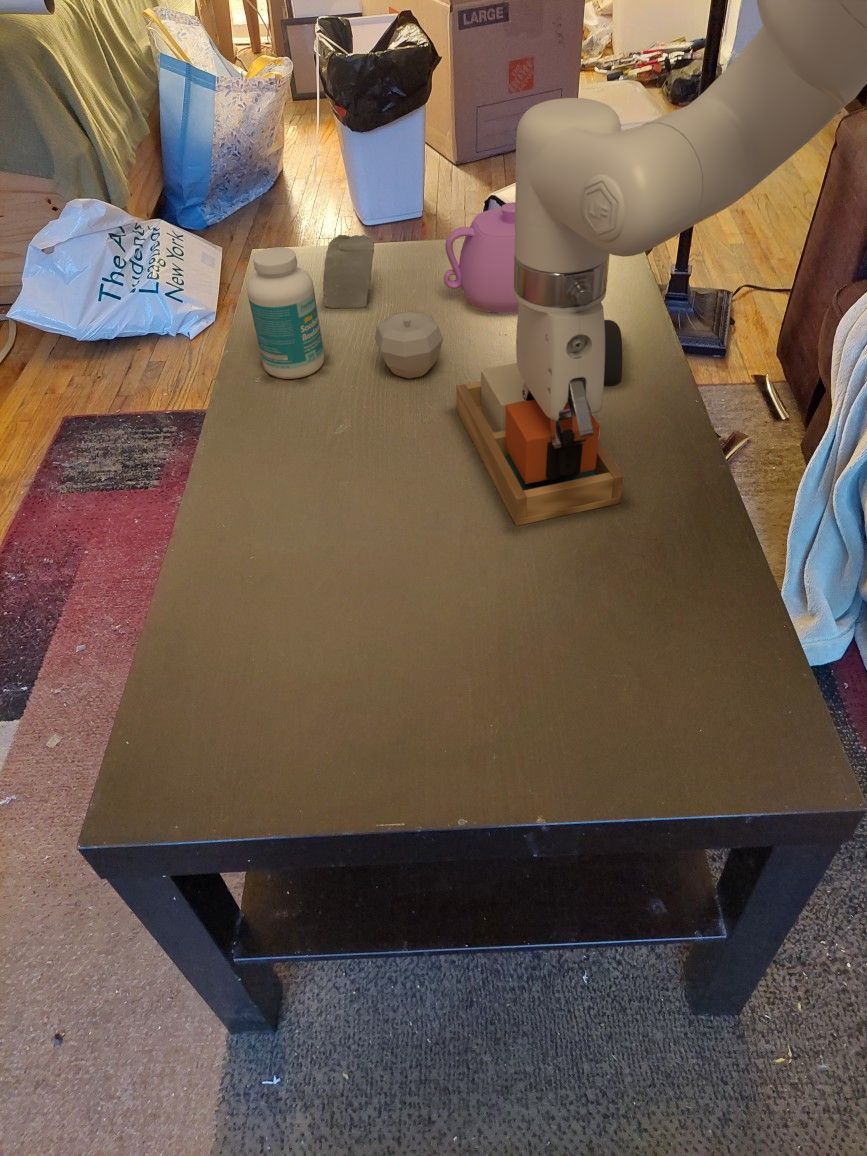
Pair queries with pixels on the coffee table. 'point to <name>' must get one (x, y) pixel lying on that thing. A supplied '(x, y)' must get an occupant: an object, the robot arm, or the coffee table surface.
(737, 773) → the coffee table surface
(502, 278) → the teapot
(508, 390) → the beige block
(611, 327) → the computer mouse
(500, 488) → the holder
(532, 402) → the orange block
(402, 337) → the apple
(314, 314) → the pill bottle
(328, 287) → the mineral specimen
